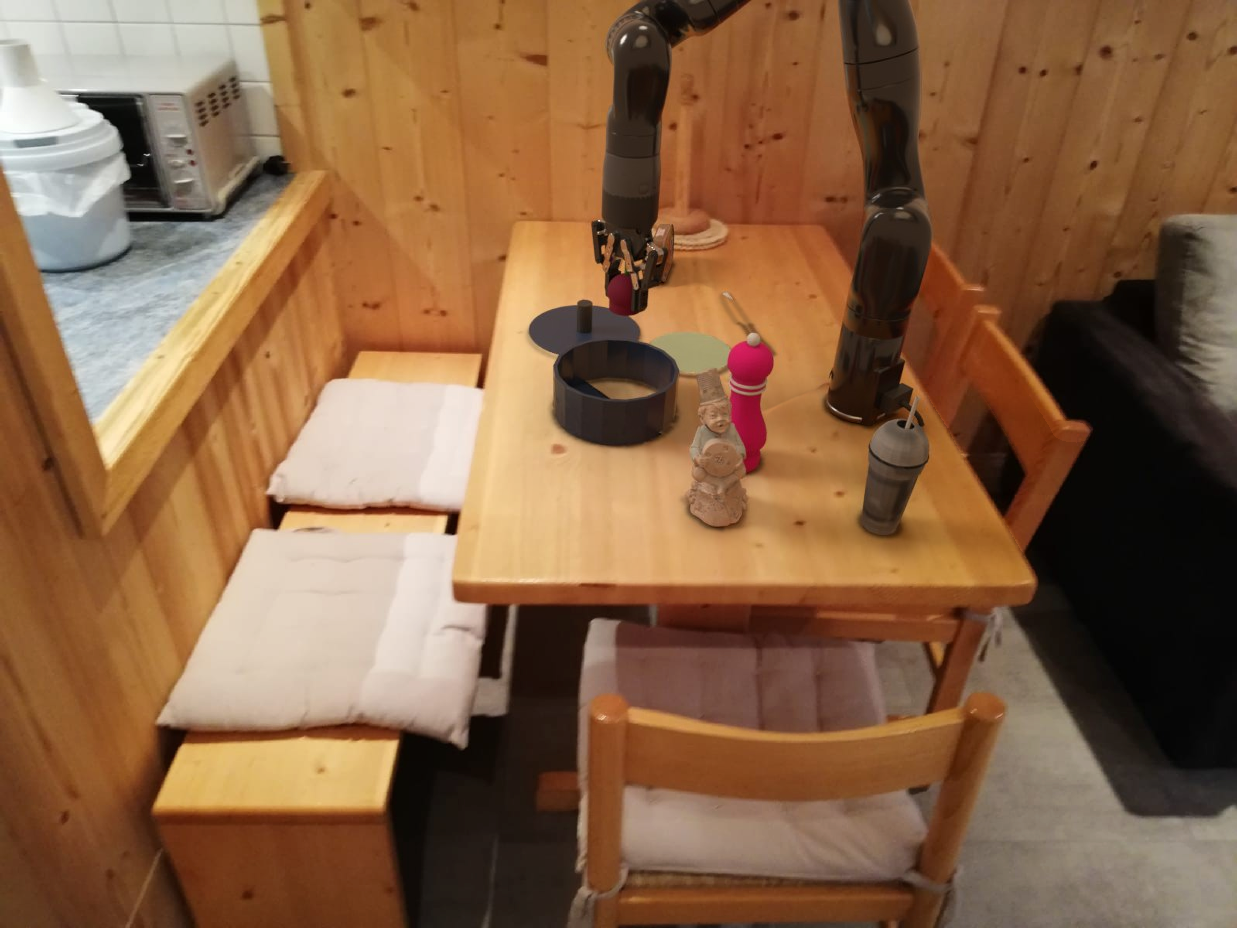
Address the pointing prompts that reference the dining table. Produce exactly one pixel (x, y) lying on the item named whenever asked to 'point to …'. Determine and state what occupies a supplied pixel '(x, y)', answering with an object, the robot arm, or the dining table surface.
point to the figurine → (716, 457)
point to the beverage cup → (893, 472)
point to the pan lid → (579, 326)
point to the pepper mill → (749, 394)
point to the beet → (621, 294)
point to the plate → (694, 350)
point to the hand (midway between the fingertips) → (625, 303)
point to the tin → (665, 244)
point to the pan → (614, 418)
